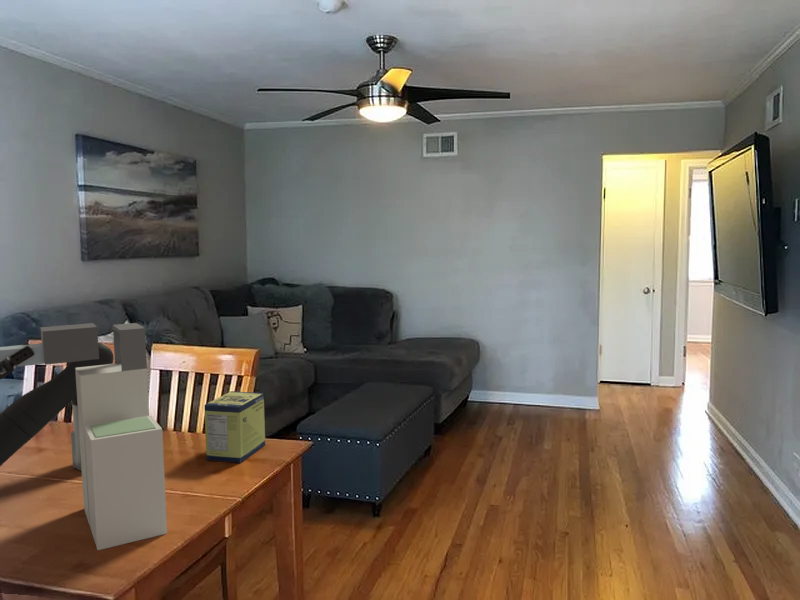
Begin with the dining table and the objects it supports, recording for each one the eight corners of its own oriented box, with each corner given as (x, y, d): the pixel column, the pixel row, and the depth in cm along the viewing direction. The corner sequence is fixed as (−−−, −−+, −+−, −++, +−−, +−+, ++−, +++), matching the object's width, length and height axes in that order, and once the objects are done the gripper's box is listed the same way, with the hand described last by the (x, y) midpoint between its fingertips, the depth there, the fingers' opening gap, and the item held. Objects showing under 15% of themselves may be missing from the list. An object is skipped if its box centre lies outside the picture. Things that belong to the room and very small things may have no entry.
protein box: (266, 444, 186) (264, 392, 185) (241, 463, 171) (239, 406, 169) (233, 442, 189) (231, 390, 187) (205, 461, 173) (203, 404, 172)
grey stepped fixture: (97, 550, 125) (85, 342, 120) (83, 508, 144) (72, 327, 139) (167, 533, 132) (157, 336, 127) (145, 495, 151) (136, 322, 146)
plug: (-8, 370, 125) (-11, 335, 125) (-8, 364, 131) (-11, 331, 130) (99, 358, 135) (97, 326, 135) (95, 353, 141) (93, 323, 140)
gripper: (-39, 405, 132) (40, 356, 139) (-43, 423, 120) (44, 368, 127) (-65, 376, 129) (18, 328, 136) (-71, 391, 117) (20, 337, 124)
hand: (30, 348), depth 131 cm, fingers closed on plug, 4 cm apart
